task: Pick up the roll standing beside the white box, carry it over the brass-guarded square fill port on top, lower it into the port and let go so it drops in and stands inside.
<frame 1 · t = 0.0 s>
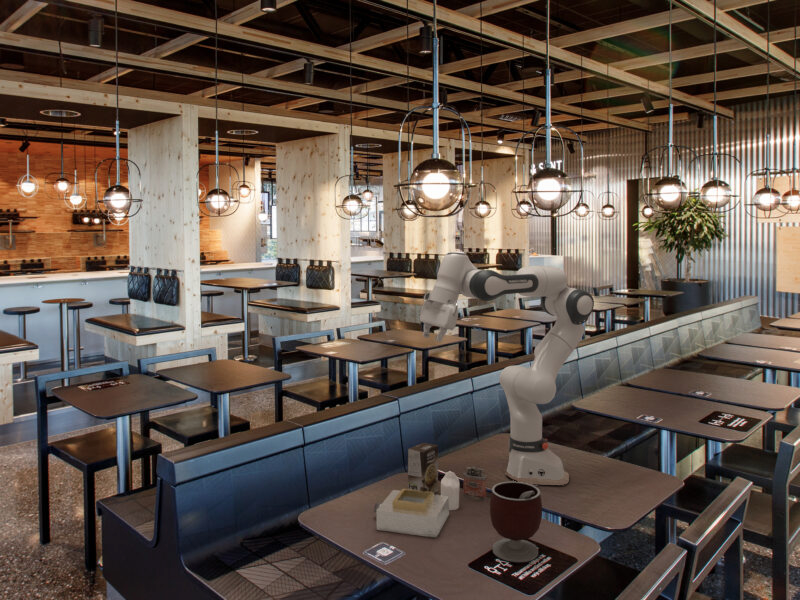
hand: (431, 339, 211), 52 cm above the table, tool tilted 20°, fingers open, 8 cm apart
roll: (450, 507, 204), on the table
white box: (413, 522, 193), on the table
mate gourd: (516, 553, 174), on the table
lighter: (474, 497, 212), on the table
coffee box: (423, 494, 215), on the table
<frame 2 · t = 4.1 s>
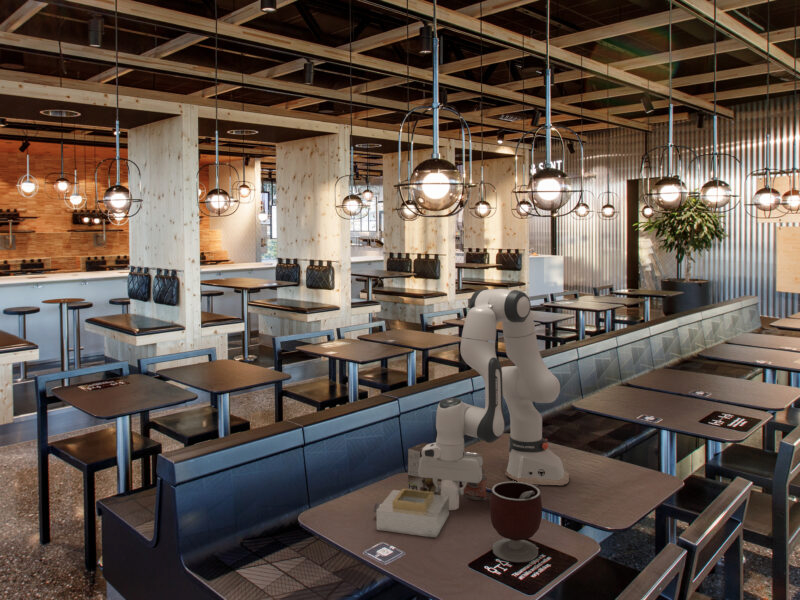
hand: (450, 492, 204), 5 cm above the table, tool pointing down, fingers closed on roll, 6 cm apart
roll: (450, 507, 204), on the table, touching gripper
everything else where it was.
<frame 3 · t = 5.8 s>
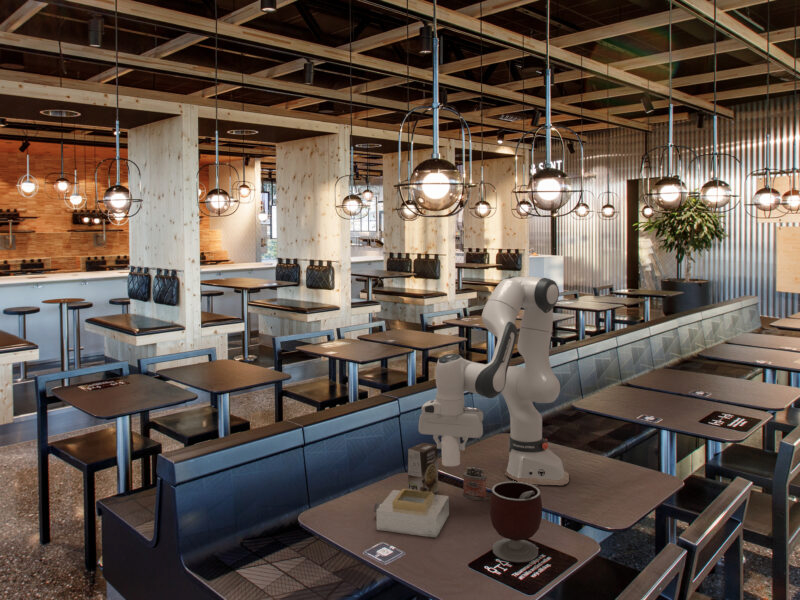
hand: (450, 449, 202), 19 cm above the table, tool pointing down, fingers closed on roll, 6 cm apart
roll: (451, 464, 203), point 14 cm above the table, touching gripper
everything else where it was.
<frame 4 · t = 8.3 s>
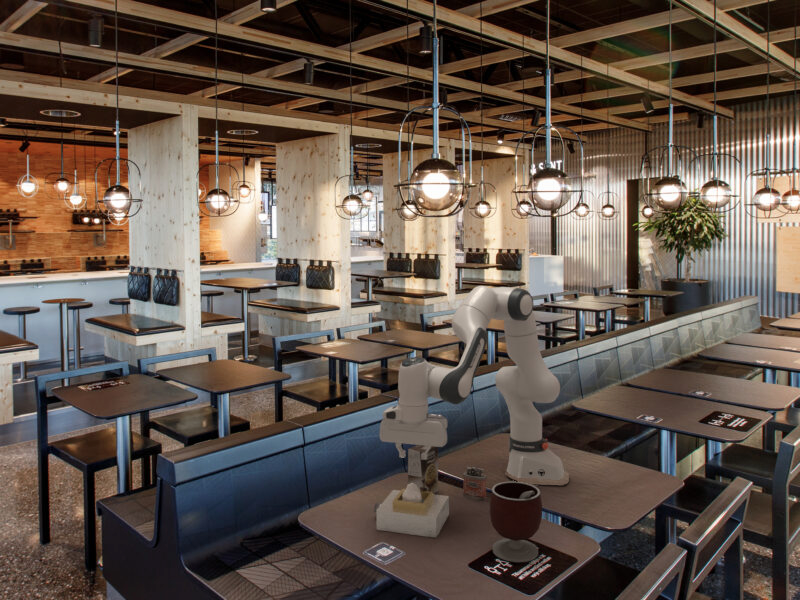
hand: (413, 458, 191), 20 cm above the table, tool pointing down, fingers open, 5 cm apart
roll: (412, 521, 193), resting in white box
everything else where it was.
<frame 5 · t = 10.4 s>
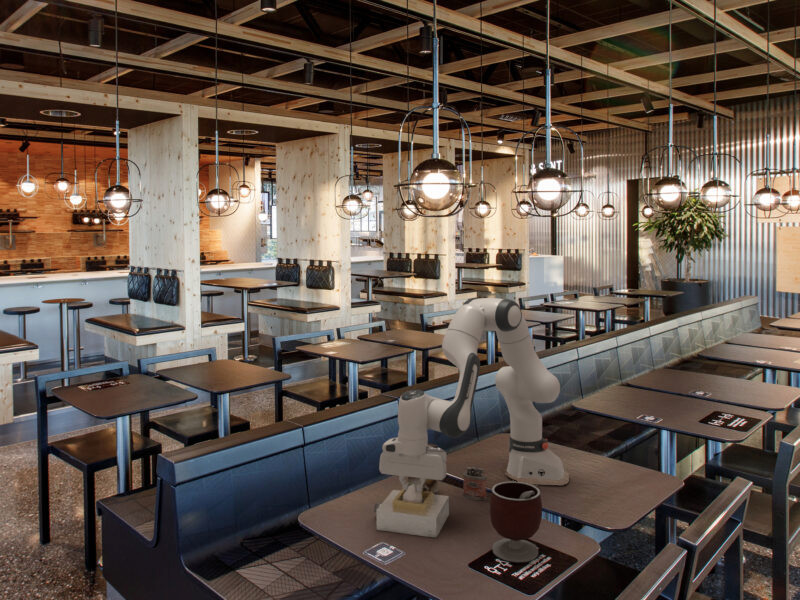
hand: (412, 490, 192), 10 cm above the table, tool pointing down, fingers closed on roll, 3 cm apart
roll: (412, 522, 193), resting in white box, touching gripper
everything else where it was.
when the fingers open (10 cm above the table, at t = 10.4 s): roll stays where it is, resting in white box.
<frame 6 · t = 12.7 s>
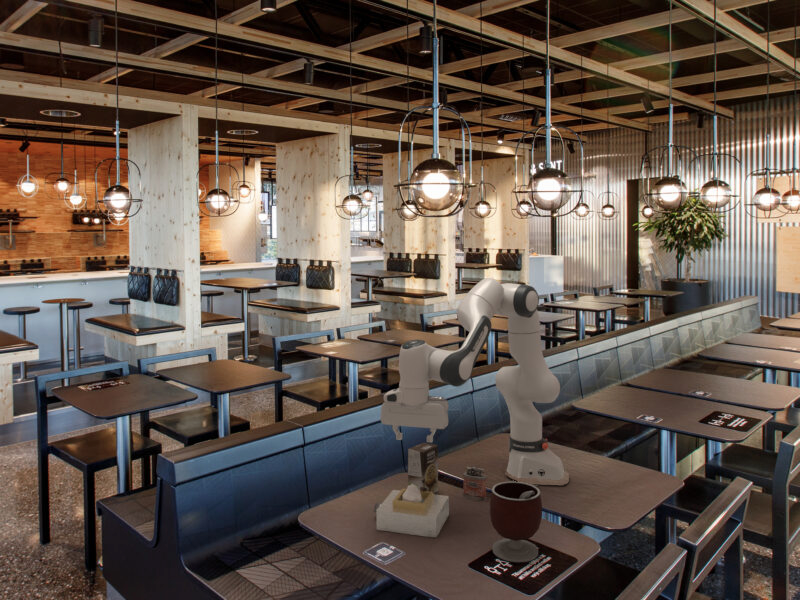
hand: (414, 440, 191), 25 cm above the table, tool pointing down, fingers open, 8 cm apart
roll: (412, 522, 193), resting in white box
everything else where it was.
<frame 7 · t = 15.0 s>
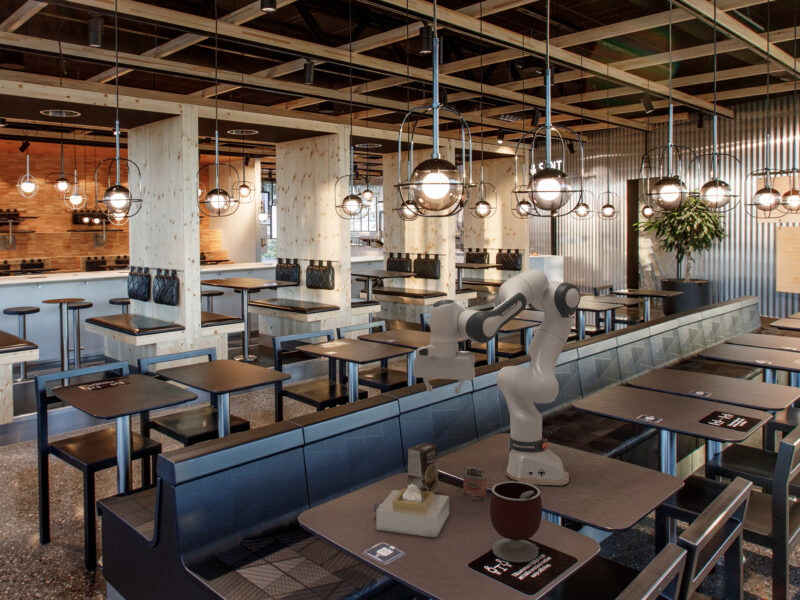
hand: (443, 391, 209), 35 cm above the table, tool pointing down, fingers open, 8 cm apart
nothing on the table moved.
at the end: roll 0.6 cm off-centre on the white box, point 0.0 cm above the white box's base; roll tilted 0°; the gripper is holding nothing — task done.
